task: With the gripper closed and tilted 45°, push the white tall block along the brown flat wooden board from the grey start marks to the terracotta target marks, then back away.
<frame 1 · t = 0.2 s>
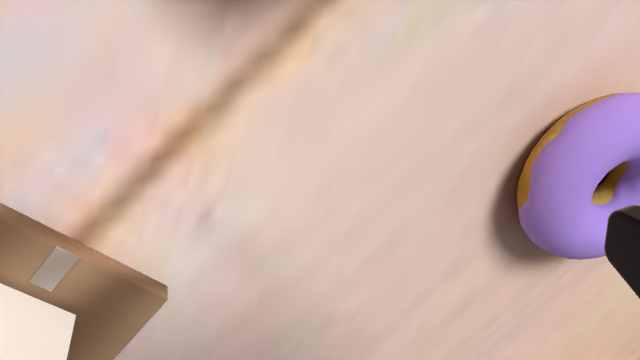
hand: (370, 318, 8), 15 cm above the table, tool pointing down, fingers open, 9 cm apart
donut: (577, 163, 29), on the table
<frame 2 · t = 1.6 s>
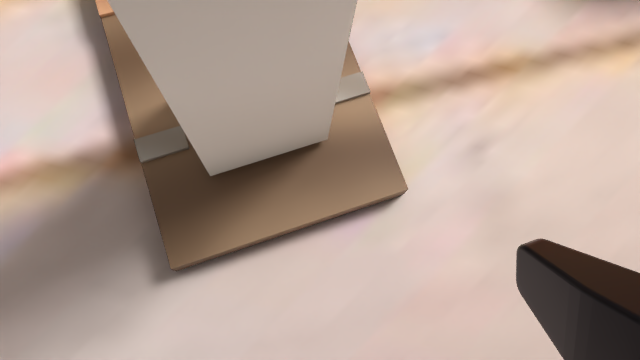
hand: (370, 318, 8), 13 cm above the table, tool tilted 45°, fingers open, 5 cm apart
brown flat wooden board: (233, 56, 23), on the table
white tall block: (241, 38, 15), point 7 cm above the table, slide at 0.0 cm
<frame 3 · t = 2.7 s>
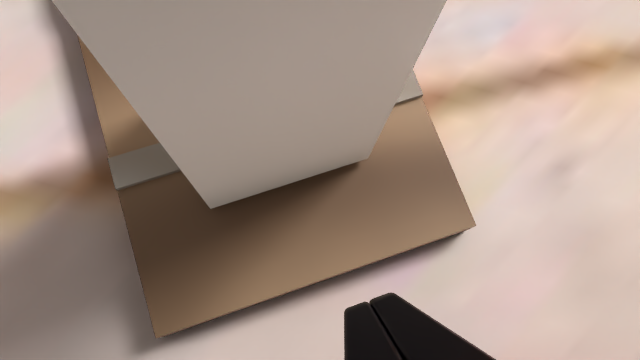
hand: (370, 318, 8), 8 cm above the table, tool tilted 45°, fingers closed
brown flat wooden board: (241, 48, 18), on the table
white tall block: (259, 12, 10), point 7 cm above the table, slide at 0.0 cm
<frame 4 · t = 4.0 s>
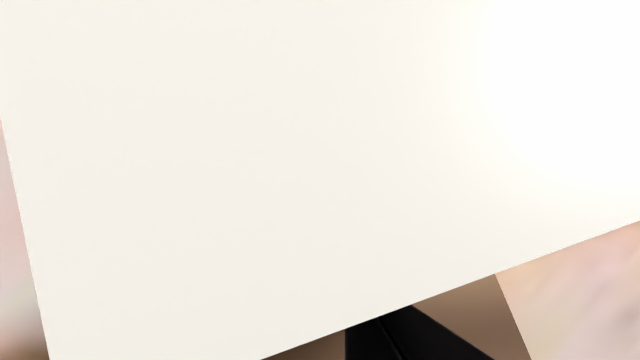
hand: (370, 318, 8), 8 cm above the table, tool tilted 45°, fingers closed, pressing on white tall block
brown flat wooden board: (288, 186, 17), on the table
white tall block: (323, 196, 9), point 7 cm above the table, slide at 1.3 cm, touching gripper
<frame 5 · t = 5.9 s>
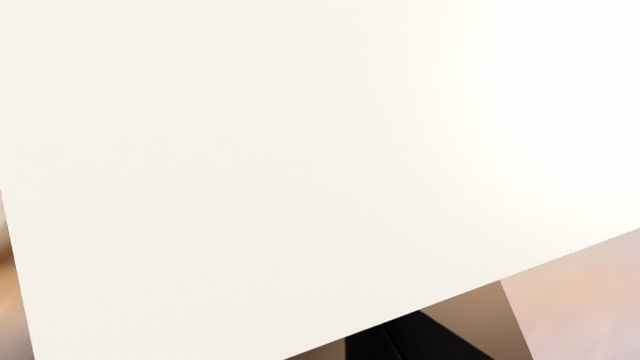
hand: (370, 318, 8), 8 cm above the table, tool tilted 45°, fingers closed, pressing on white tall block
white tall block: (323, 193, 9), point 7 cm above the table, slide at 8.2 cm, touching gripper
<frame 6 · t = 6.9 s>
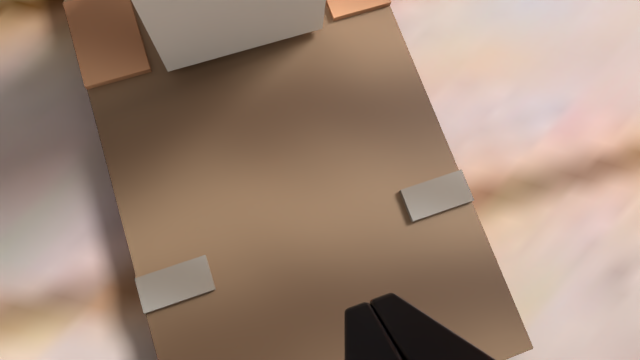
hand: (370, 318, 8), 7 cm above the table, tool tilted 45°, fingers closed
brown flat wooden board: (274, 140, 16), on the table
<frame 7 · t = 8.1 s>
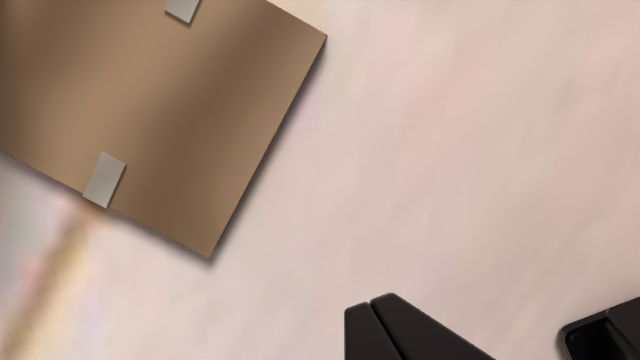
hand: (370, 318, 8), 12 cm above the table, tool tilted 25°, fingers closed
brown flat wooden board: (73, 43, 19), on the table
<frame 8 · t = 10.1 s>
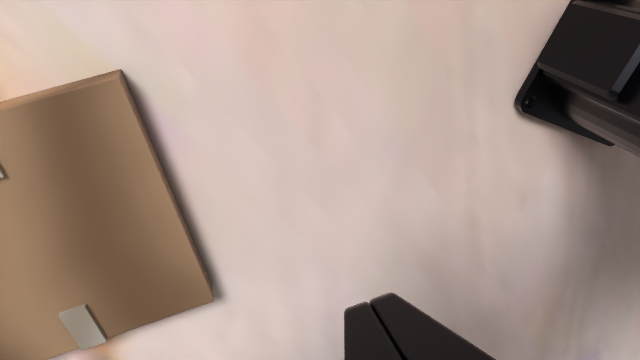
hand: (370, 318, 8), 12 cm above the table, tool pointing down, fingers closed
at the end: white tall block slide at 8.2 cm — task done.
